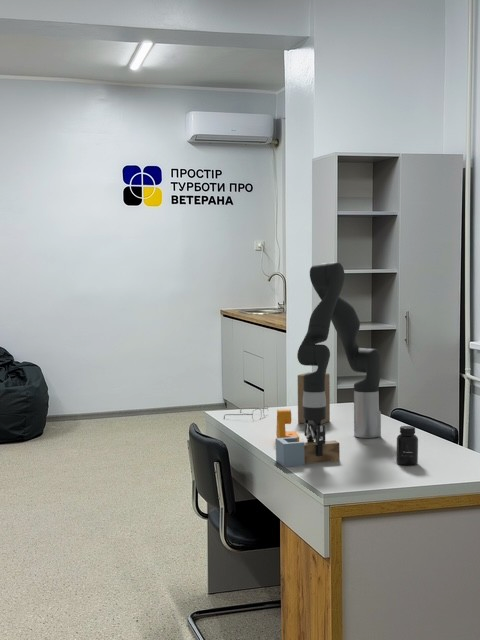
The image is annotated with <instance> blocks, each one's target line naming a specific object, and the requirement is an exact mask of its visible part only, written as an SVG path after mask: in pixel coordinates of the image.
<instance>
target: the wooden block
mask: <svg viewBox="0 0 480 640" xmlns="http://www.w3.org/2000/svg"><path fill="white" fill-rule="evenodd" d="M311 372H312V371H311ZM311 372H310V371H309V372H306V373H301V374H298V375H297V423H298V424H304V425H305V419H304V418H303V392H304V384H303V378H304V375H305V374H307V373H311ZM330 385H331V384H330V373H327V372H326V374H325V396H326V418H325V419H324V420H321V425H323V424H326V423H328V422H331V421H330V420H331V419H330V417H331V413H330V412H331V411H330V407H331V406H330V405H331V403H330V401H331V398H330V390H331V388H330V387H331V386H330Z"/></svg>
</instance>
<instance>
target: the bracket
mask: <svg viewBox="0 0 480 640" xmlns="http://www.w3.org/2000/svg"><path fill="white" fill-rule="evenodd" d="M291 424H292V410H291V408H290V409H289V408H288V409H287V408H286V409H285V408H283V409H282V408H281V409H277V410H276V438H288V437H297V442H300V436H299V434H298V432H297V431H293V430H289V431H288V430H287V431H286V425H291Z"/></svg>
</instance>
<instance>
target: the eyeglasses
mask: <svg viewBox="0 0 480 640" xmlns="http://www.w3.org/2000/svg"><path fill="white" fill-rule="evenodd" d="M242 410H254V411H257V410H260V411H262V412H260V416H262V413H263V417H266V415H265V410H269V406H268V405H265V406H264V407H252V408H251V407H248V408H247V407H246V408H245V407H242V408H240V411H239V413H236V414H235V413H229V414H227V413H225V414H224V415H223V419H226V417H225V416H251V418H252V420H254V417H253V416H254V415H253V414H254V411H252V412H251V413H245V414H244V413H243V414H242ZM259 419H262V417H260V418H259Z"/></svg>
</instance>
